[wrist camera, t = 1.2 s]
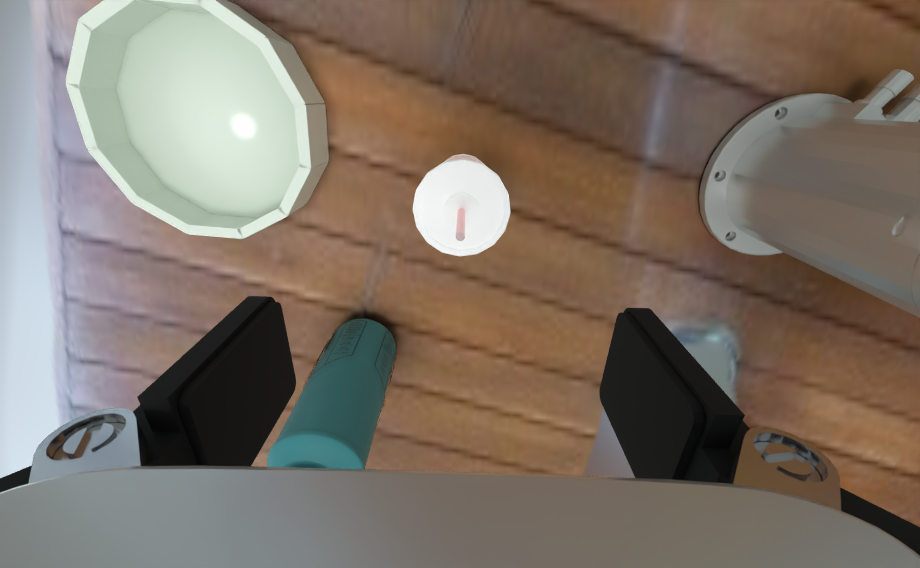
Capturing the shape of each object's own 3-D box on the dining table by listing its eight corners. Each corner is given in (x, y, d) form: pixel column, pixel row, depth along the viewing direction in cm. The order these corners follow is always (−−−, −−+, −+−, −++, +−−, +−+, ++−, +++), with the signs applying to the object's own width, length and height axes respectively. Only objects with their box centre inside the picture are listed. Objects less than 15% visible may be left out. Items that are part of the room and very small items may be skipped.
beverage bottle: (340, 301, 37) (220, 492, 19) (407, 316, 38) (353, 514, 20) (333, 355, 40) (223, 565, 22) (396, 368, 40) (339, 583, 22)
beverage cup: (514, 184, 32) (545, 240, 19) (461, 232, 34) (457, 311, 21) (465, 126, 30) (463, 146, 18) (411, 180, 32) (374, 233, 19)
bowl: (151, -57, 26) (99, -83, 22) (363, 95, 29) (348, 95, 26) (97, 150, 31) (49, 157, 28) (279, 255, 35) (258, 273, 32)
